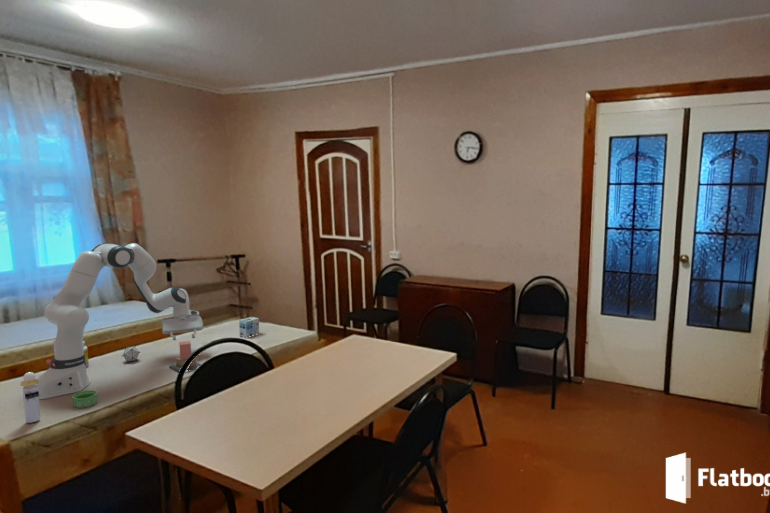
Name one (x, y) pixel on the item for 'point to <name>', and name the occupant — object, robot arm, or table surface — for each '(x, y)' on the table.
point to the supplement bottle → (85, 354)
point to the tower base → (180, 363)
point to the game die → (131, 354)
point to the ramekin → (85, 398)
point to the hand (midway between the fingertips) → (184, 338)
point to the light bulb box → (249, 326)
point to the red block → (185, 350)
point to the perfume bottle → (31, 397)
